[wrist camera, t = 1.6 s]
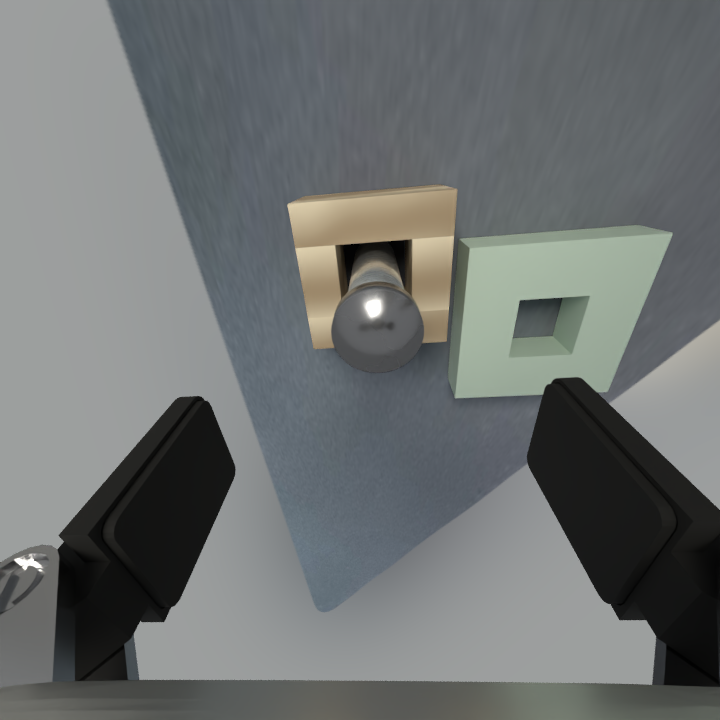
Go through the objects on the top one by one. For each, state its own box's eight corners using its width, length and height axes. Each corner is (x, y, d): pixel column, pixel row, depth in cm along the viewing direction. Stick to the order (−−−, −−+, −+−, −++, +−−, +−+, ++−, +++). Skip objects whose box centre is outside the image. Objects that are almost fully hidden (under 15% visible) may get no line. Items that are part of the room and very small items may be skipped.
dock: (458, 238, 22) (469, 248, 20) (637, 224, 22) (673, 232, 19) (447, 377, 29) (455, 398, 26) (585, 371, 28) (607, 391, 25)
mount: (304, 196, 21) (287, 204, 17) (439, 184, 21) (457, 189, 16) (323, 318, 26) (313, 348, 22) (433, 312, 25) (446, 341, 21)
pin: (346, 234, 22) (325, 293, 12) (400, 229, 22) (425, 286, 12) (351, 286, 24) (336, 375, 14) (400, 282, 24) (423, 370, 14)
